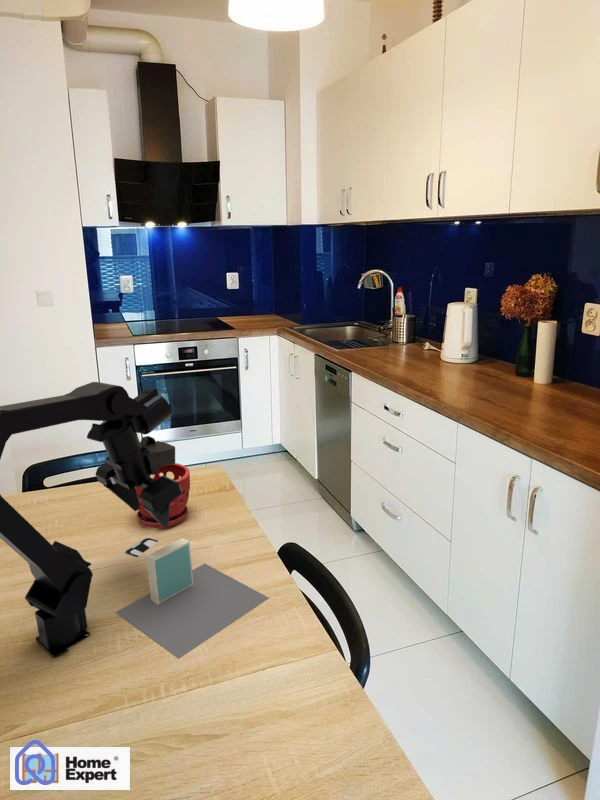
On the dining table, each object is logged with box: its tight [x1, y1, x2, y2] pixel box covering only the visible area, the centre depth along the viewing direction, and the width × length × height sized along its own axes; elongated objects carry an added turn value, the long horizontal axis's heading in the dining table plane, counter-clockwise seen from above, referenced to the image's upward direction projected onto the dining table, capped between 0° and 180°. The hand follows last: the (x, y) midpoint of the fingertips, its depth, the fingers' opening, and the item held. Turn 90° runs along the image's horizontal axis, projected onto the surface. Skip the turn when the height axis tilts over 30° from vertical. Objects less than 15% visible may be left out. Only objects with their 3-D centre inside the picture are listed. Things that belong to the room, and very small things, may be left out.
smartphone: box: [124, 537, 159, 558], centre depth 119 cm, size 7×1×15 cm
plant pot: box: [135, 462, 191, 529], centre depth 133 cm, size 13×13×12 cm
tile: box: [145, 537, 193, 605], centre depth 105 cm, size 8×2×9 cm, turn 138°
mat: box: [114, 563, 270, 660], centre depth 102 cm, size 20×18×1 cm
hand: (151, 517), depth 108 cm, fingers open, 9 cm apart
